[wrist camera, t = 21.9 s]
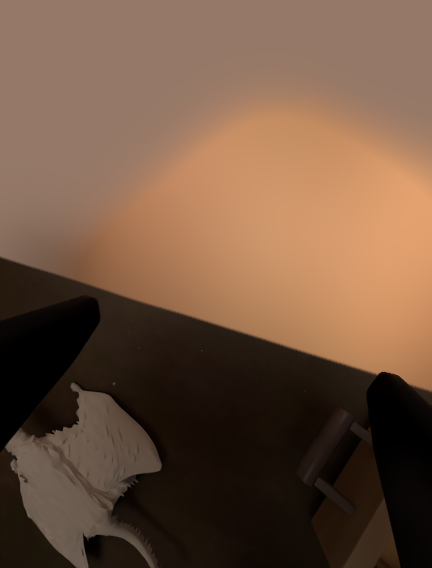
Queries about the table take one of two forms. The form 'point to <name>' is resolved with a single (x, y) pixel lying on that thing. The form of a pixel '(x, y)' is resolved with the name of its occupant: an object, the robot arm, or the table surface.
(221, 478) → the table surface
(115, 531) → the white dragon
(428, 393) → the table surface
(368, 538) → the drawer
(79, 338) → the robot arm
